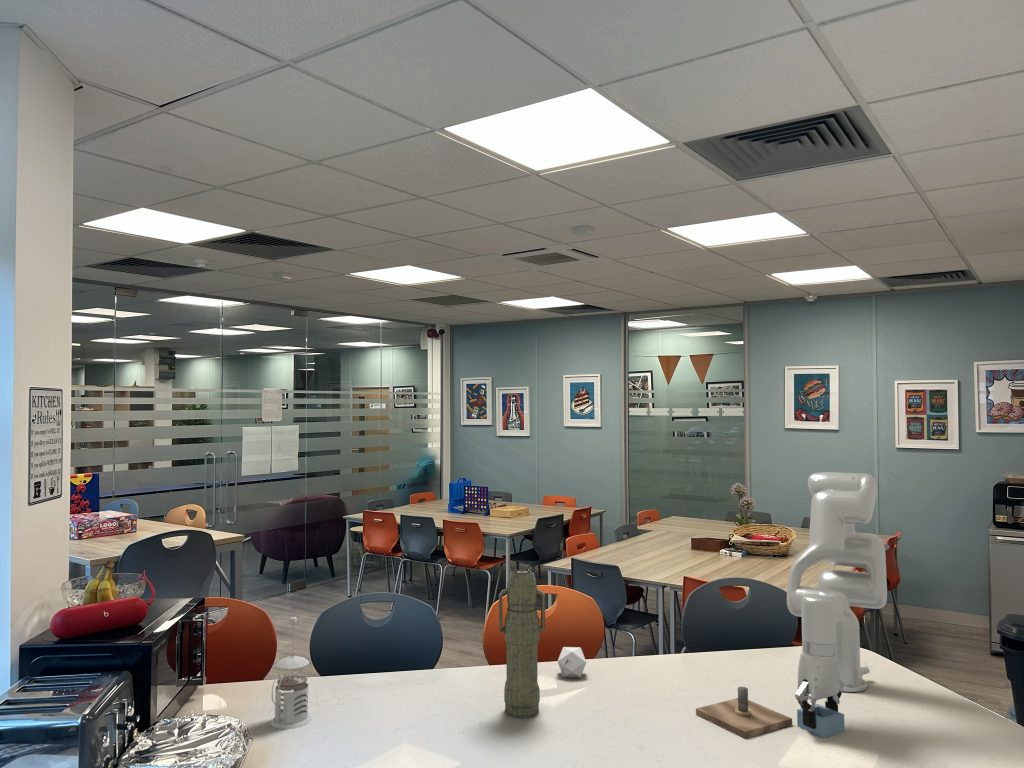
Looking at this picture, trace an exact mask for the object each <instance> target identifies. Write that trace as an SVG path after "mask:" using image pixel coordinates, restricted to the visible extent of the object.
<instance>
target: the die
mask: <svg viewBox="0 0 1024 768" xmlns="http://www.w3.org/2000/svg"><path fill="white" fill-rule="evenodd" d="M557 663H558V664H557V665H558V667H559V669H560V672H561V675H562V677H563V678H575V679H576V678H577V679H578V678H579V679H580V678H582V675H583V672H584V670H585V667H586V664H587V661H586V658H585V655H584V653H583V650H582V648H581V646H580V647H577V646H576V647H575V646H574V647H573V646H563V647H562V649H561V652H560V654H559V657H558V659H557Z"/></svg>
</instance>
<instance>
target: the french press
mask: <svg viewBox="0 0 1024 768" xmlns="http://www.w3.org/2000/svg"><path fill="white" fill-rule="evenodd" d="M288 621H289V623H292V633H294V625H295V624H294V623H297V622H298V619H297V617H296V616H291V617H290V618H289V620H288ZM291 640H292V644H291V646H292V647H291V648H292V649H291V650H292V651H291V655H289V656H287V657H284V658H282V659H280V660H279V661H277V662H276V663H275V665H274V667H275V668H276V669H277V670H280V671H291V675H288V676H286V675H285V674H283V676H282V677H281V675H280V673H279V674H277V676H276V677H275V678H274V681H273V683H272V686H271V700H272V703H273V704H274V717H273V718H272V719H271V720H270V726H272V727H273V728H276V729H279V730H280V729H281V730H282V729H283V730H289V729H296V728H297V729H298V728H301V727H304V726H306V725H308V724H310V723H311V722H312V720H313V719H312V718H313V717H312V716H311V715H310V714H309V712H308V710H309V707H308V705H309V701H308V700H309V696H308V695H309V683H308V682H307V681H308V678H307V677H306V676H304V675H300V674H299V675H295V674H294V675H293V671H294V670H295V671H296V670H300V669H304V668H306V667H307V666H308V665H310V661H309V659H307V658H305V657H304V656H298V655H294V636H292V639H291ZM277 678H278V679H277ZM275 682H276V684H277V685H276V686H275ZM274 686H275V690H274ZM274 691H275V693H274ZM281 691H282V692H281ZM274 694H275V695H274ZM274 696H275V699H274ZM274 700H275V701H274ZM282 702H283V703H282Z"/></svg>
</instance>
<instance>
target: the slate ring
mask: <svg viewBox="0 0 1024 768" xmlns="http://www.w3.org/2000/svg"><path fill="white" fill-rule="evenodd" d="M796 710H797V711H796V716H797V717H796V718H797V719H796V720H797V722H796V724H797V727H798V728H800V729H802V730H805V731H807V732H809V733H811V734H814V735H816V736H818V737H821V738H822V739H824V738H825V739H826V738H828V737H832V736H835V735H838V734H841V733H844V732H846V730H845V728H846V727H845V714H844V713H843V712H840V711H838V712H837V711H834V710H831V709H829V708H826V707H825V705H821V704H818V703H816V704H815V707H814V710H813V711H815V713H816V728H815V729H812V728H809V727H807V726H805V725H803V708H801V707H800V708H798V709H796Z"/></svg>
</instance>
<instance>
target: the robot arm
mask: <svg viewBox="0 0 1024 768" xmlns="http://www.w3.org/2000/svg"><path fill="white" fill-rule="evenodd" d="M873 476H874V475H873ZM873 476H872V475H871V474H868V473H863V472H859V473H858V472H838V471H837V472H836V471H821V472H819V471H818V472H814V473H812V474H810V475H809V476H808V478H807V487H808V491H809V493H810V495H811V496H812V498H811V501H810V504H811V505H810V517H809V520H810V521H809V533H808V534H809V535H808V537H809V538H808V545H807V548H805V550H804V551H802V552H801V553H800V554H799V555H798V556H797V557H796V559H795V560H794V562H793V563H792V565H791V567H790V569H789V573H788V577H787V587H786V588H787V589H786V607H787V609H788V612H789V613H790V614H791V615H793V616H796V617H799V618H800V617H801V647H802V648H801V649H802V651H801V653H800V655H799V656H800V657H799V660H798V669H797V691H796V692H795V694H794V697H795V699H796V700H797V704H799V706H800V709H801V708H803V725H805V726H807V727H809V728H812V729H815V728H816V713H815V711H813V710H814V707H815V704H817V701H819V700H822V699H826V700H825V701H824V707H826V708H829V709H831V710H834V711H837V712H839V705H840V698H841V697H842V693H843V692H845V693H846V692H847V693H858V692H863V691H865V690H867V688H868V684H867V682H866V681H865V680H864V679H863V676H864V675H867V674H869V673H870V671H871V670H870V668H869V667H868V666H861V648H860V647H861V645H860V644H861V643H860V641H861V640H860V622H859V619H858V618H857V616H856V613H854V612H853V610H852V609H851V607H855V608H856V607H857V608H865V609H873V610H874V609H875V610H878V609H882V608H884V607H885V606H886V604H887V601H888V586H887V585H888V584H887V583H888V582H887V561H886V560H887V559H886V548H885V543H884V540H883V539H882V538H881V537H880V536H879V535H877V534H874V533H870V532H869V533H866V532H856V529H855V528H856V527H855V525H866V524H869V523H870V522H871V520H872V519H873V518H872V517H873V514H874V510H875V504H876V501H877V500H876V499H877V494H878V485H877V484H878V483H877V482H876V479H875V478H874V477H873ZM824 561H826V563H829V564H831V565H833V566H842V567H849V568H860V569H861V568H862V569H865V570H866V571H867V572H866V571H865V572H864V571H853V570H845V569H826V570H824V571H822V572H820V574H819V575H818V577H817V587H812V586H811V587H810V586H803V585H802V586H801V581H802V577H803V575H804V574H805V572H806V571H808V569H809V568H811V567H812V566H814V565H816V564H818V563H821V562H824ZM808 700H810V703H809V701H808Z"/></svg>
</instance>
